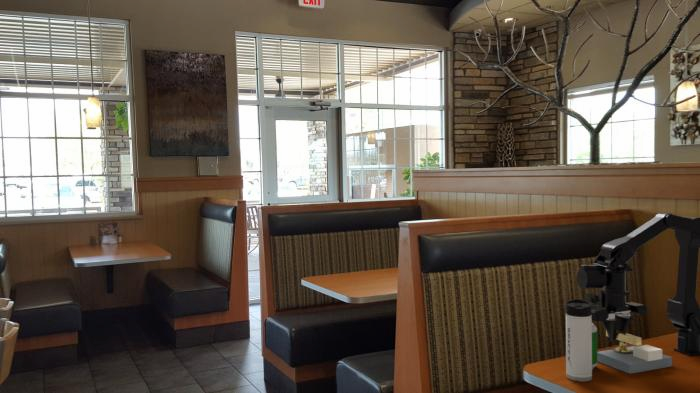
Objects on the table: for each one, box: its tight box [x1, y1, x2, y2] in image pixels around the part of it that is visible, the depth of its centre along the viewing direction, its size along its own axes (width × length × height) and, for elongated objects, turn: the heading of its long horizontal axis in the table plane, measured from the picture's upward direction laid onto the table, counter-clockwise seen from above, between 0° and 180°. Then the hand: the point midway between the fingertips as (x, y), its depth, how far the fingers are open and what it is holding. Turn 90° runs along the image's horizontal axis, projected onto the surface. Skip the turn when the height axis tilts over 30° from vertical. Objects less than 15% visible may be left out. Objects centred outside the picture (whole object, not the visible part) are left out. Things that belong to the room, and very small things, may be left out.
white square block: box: [633, 344, 663, 361], centre depth 160 cm, size 5×5×3 cm
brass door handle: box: [605, 330, 643, 353], centre depth 166 cm, size 4×11×5 cm, turn 20°
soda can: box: [592, 322, 598, 370], centre depth 160 cm, size 8×8×12 cm
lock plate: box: [597, 345, 673, 374], centre depth 162 cm, size 15×12×3 cm
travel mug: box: [565, 298, 593, 383], centre depth 152 cm, size 6×7×20 cm
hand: (615, 341), depth 168 cm, fingers closed on brass door handle, 2 cm apart
